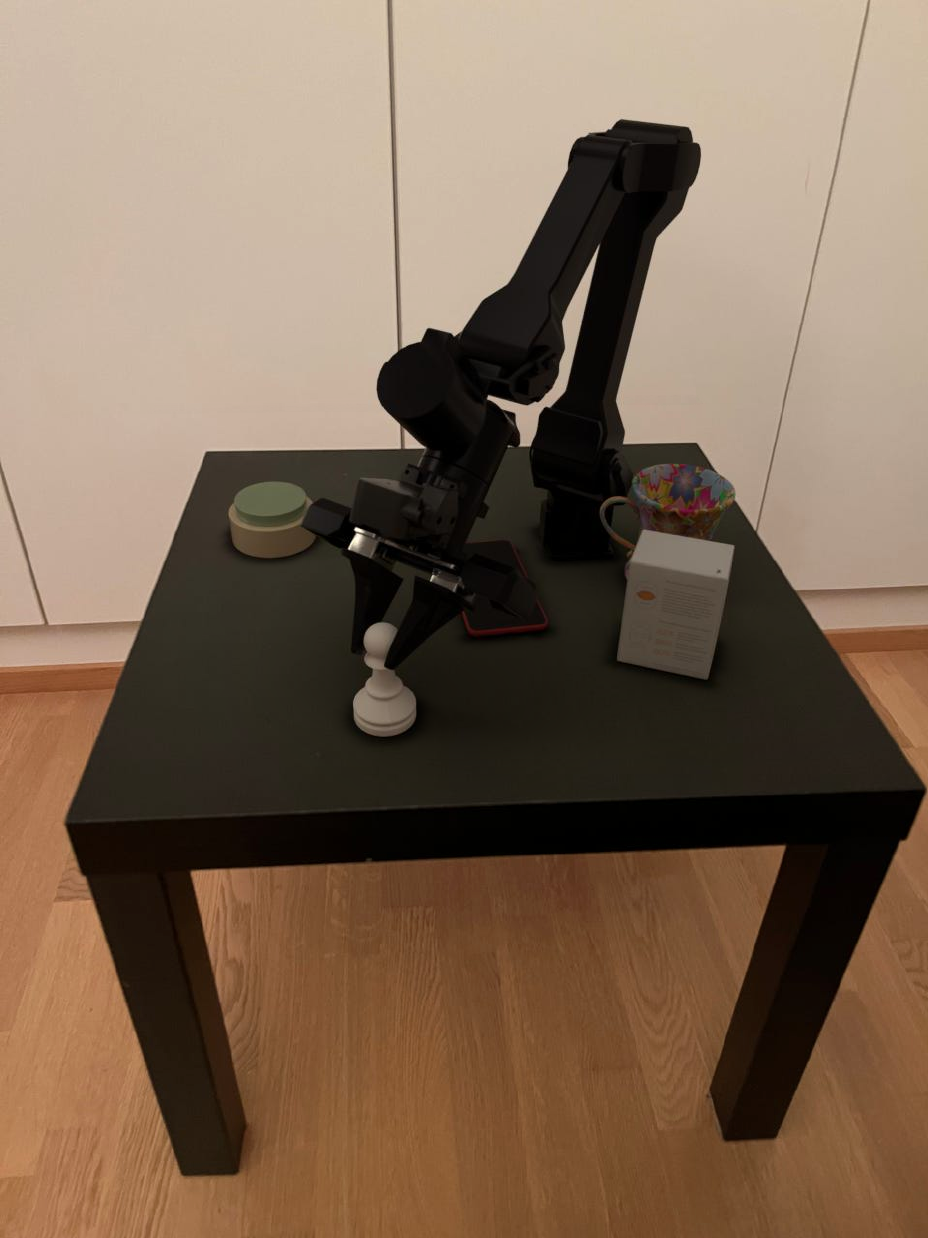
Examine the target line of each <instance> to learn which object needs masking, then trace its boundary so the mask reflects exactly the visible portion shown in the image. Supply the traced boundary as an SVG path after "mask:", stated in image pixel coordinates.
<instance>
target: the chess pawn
mask: <svg viewBox="0 0 928 1238" xmlns="http://www.w3.org/2000/svg"><path fill="white" fill-rule="evenodd" d="M397 631H398V628H397V627H396V626H395V625H393V624H392V623H388V622H384V621H381V622H380V623H376V624H373V625H372V626H370V627H369V628H368V630H367V631H366V633H365V636H364V646H365V651H366V653H365V654H364V657H363V658H364V659H363V661H364V663H365V665H366V666H367V667H369V668H370V669H372V673H371V677H369V678H368V679H367V680H366V682H365V685H364V687H362V688H361V689H359V691H357V693H356V694H355V696H354V699H353V701H352V707H353V720H354V722H355V725H356V726H357V727H358V728H359V729H360V731H362V732H364V733H365V734H368V735H371V736H374V737H381V738H383V737H385V738H386V737H394V736H398V735H400V734H402V733H404V732H406V731H407V730H409V729H410V728H411V727H412V726H413V725H414V723H415V721H416V718H417V697H416V696H415V694H414V692H413V691H412V690H411V689H410V688H409V687H407V686H406V685H404V683H403V680H402V679H401V677H399V676H397V675H396V672H395V669H394V670H389V669H387V668H385V667H384V663H385V660H386V657H387V654H388V651H389V648H390V646H391V644H392V642H393V640H394V637H395V635H396V633H397Z"/></svg>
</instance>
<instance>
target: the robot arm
mask: <svg viewBox="0 0 928 1238" xmlns="http://www.w3.org/2000/svg"><path fill="white" fill-rule="evenodd" d="M701 160H702V147H701V145H700V143H698V142H695V141H694V137H693V132H692V130H691V129H690V127H689V126H684V125H676V124H675V125H674V124H667V123H659V122H649V121H641V120H632V119H623V118H620V119H619V120H616V121H615V123H614V124H613V126H612V127H611V128H608V129H607V130H606V131H596V132H595V131H594V132H588V133H587V135H585V136H580V137H578V138H576V140H575V141H574V142H573V143H572V146H571V148H570V151H569V154H568V159H567V170H566V171H565V173H564V175H563V178H562V179H561V182H560V183H559V185H558V187H557V189H556V191H555V192H554V194H553V197H552V199H551V201H550V203H549V205H548V207H547V209H546V210H545V213H544V215H543V216H542V218H541V221H540V222H539V225H538V226H537V227H536V230H535V232H534V234H533V236H532V238H531V240H530V242H529V244H528V246H527V248H526V249H525V252H524V254H523V256H522V258H521V259H520V261H519V263H518V265H517V267H516V268H515V271H514V273H513V275H512V276H511V278H510V279H509V281H508V282H507V284H505V285H504V286H502V287H501V288H499V289H497V290H496V291H494V292H492V293H491V294H489V295H488V296H487V297H485V298H484V299H482V300H481V301H480V303H479V304H478V306H477V307H476V309H475V310H474V312H473V313H472V314H471V316H470V318H469V319H468V320H467V322H466V324H465V325H464V327H463V328H462V329H461V331H459V332H458V333H457V334H456V335H454V334H453V332H448V331H444V330H440V329H436V328H433V327H427V328H426V329H425V332H424V334H423V336H422V338H421V341H416V342H414V343H410V344H408V345H406V346H404V347H402V348H399V350H397V351H396V352H395V353H394V354H393V355H392V356H391V357H390V358H389V359H388V360H387V361H385V362H384V363H383V364H382V365H381V367H380V370H379V371H378V372H379V373H378V376H377V378H376V389H375V390H376V395H377V399H378V401H379V404H380V405H381V407H382V408H383V409H384V410H385V412H386V413H387V414H388V415H389V416H391V418H392V419H393V420H395V421H396V422H397V423H398V424H399V425H400V426H401V427H402V428H403V429H404V430H405V431H406V432H407V433H408V434H409V435H410V436H411V437H412V438H414V440H416V442H417V443H419V444H420V445H421V446H423V447H424V450H423V453H422V455H421V457H420V460H419V462H418V464H417V465H414V464H411V463H407V465H406V467H404V468H403V470H402V471H401V474H400V476H399V477H398V479H397V480H393V479H389V478H373V477H358V480H357V484H356V488H355V493H354V497H353V501H352V505H351V507H350V506H347V505H344V504H341V503H339V502H336V501H333V500H330V499H327V498H325V497H321V498H319V499H317V500H316V501H313V503H312V504H311V505H310V506H309V507H308V509H307V511H306V513H305V515H304V518H303V520H302V522H301V524H300V526H301V527H303V528H304V529H306V530H308V531H309V532H311V533H313V534H314V535H316V537H318V538H319V539H320V540H323V541H324V542H326V543H328V544H329V545H330V546H333V547H335V548H337V549H339V550H340V554H341V556H343V557H344V558H346V559H347V560H349V564H350V566H351V570H352V573H353V577H354V608H353V609H354V610H353V620H352V632H351V643H350V652H351V653H352V654H354V655H355V656H359V657H360V656H362V655H363V654H364V652H365V651H366V649H365V646H364V636H365V633H366V631H367V630H368V628H369V627H370V626H372V625H373V624H376V623H380V622H383V620H384V618H385V616H386V614H387V612H388V610H389V609H390V606H391V604H392V603H393V601H394V599H395V598H396V595H397V593H398V592H399V589H400V587H401V586H402V584H403V582H404V578H403V577H401V576H399V575H398V574H396V573H395V572H393V569H394V567H395V565H396V563H400V564H403V565H405V566H408V567H411V568H413V569H416V570H419V571H421V572H423V573H426V574H429V575H430V578H429V579H426V578H423V577H421V576H418V575H414V578H413V590H412V599H411V602H410V604H409V606H408V608H407V611H406V612H405V615H404V616H403V619H402V621H401V623H400V625H399V627H398V628H397V630H398V631H397V633H396V635H395V637H394V640H393V642H392V644H391V646H390V648H389V651H388V654H387V657H386V660H385V663H384V667H385V668H387V669H389V670H394V671H395V670H396V669H397V668H398V667H399V666H400V665H401V664H402V663H403V662H404V661H405V660H406V659H408V657H409V656H410V655H412V654H413V653H414V652H415V651H416V650H417V649H418V648H419V647H421V645H423V644H424V643H425V642H426V641H427V640H428V639H429V638H431V636H433V635H434V634H435V633H436V632H438V631H439V630H441V628H443V627H444V626H445V625H446V624H448V623H450V621H452V620H454V619H455V618H456V617H457V616H459V615H460V614H462V612H463V611H469V612H472V613H473V612H474V611H475V609H476V607H475V606H474V605H472V604H473V602H474V600H475V597H476V595H477V594H478V595H481V596H484V597H486V598H489V600H490V602H491V605H492V608H494V609H495V610H498V611H500V612H503V613H505V614H508V615H510V616H513V617H515V618H518V619H521V620H523V621H527V622H528V621H529V619H530V616H531V614H532V612H533V609H534V607H535V605H536V602H537V599H538V590H537V586H536V584H535V583H534V582H533V581H532V580H531V579H530V578H529V577H528V576H527V577H528V578H527V577H526V576H525V575H524V574H522V573H521V572H520V571H519V570H518V569H517V568H515V567H512V566H509V565H507V564H504V563H501V562H498V561H496V560H493V559H490V558H487V557H485V556H482V555H479V554H474V555H473V556H472V557H471V558H469V559H468V560H467V561H466V559H467V557H468V555H467V554H466V553H465V552H463V551H462V549H463V547H464V545H465V543H467V540H468V538H469V536H470V533H471V532H472V530H473V527H474V525H475V523H476V520H477V518H479V519H482V520H485V519H486V516H487V514H488V512H489V510H490V506H489V505H487V503H486V502H485V500H486V498H487V495H488V493H489V491H490V489H491V486H492V483H493V481H494V479H495V477H496V475H497V472H498V470H499V467H501V466H500V465H501V464H502V462H503V459H504V457H505V454H506V452H507V449H508V448H509V447H512V448H514V449H515V448H519V447H520V446H521V432H520V429H519V428H518V425H517V414H516V412H515V411H514V412H513V411H511V410H507V409H503V408H501V407H500V406H499V404H497V403H496V402H494V401H492V400H491V399H488V397H493V398H497V399H499V400H502V401H503V400H504V401H508V402H511V403H514V404H518V405H522V406H526V407H527V406H530V405H532V404H534V403H537V404H539V402H542V400H543V399H544V398H545V396H546V395H547V394H549V393H550V391H551V390H553V388H554V385H555V384H556V381H557V380H558V378H559V375H560V364H561V361H562V359H563V356H564V354H565V351H566V341H565V334H564V333H565V332H564V325H563V321H564V318H565V316H566V313H567V311H568V308H569V306H570V304H571V302H572V301H573V298H574V296H575V294H576V292H577V290H578V289H579V286H580V285H581V282H582V280H583V279H584V276H585V274H586V272H587V270H588V269H589V266H590V264H591V262H592V260H593V258H594V257H595V254H596V258H595V262H594V267H593V271H592V274H591V280H590V284H589V289H588V292H587V297H586V301H585V304H584V305H585V306H584V309H583V314H582V319H581V323H580V327H579V332H578V336H577V340H576V345H575V349H574V352H573V353H574V354H573V357H572V361H571V367H570V370H569V374H568V379H567V382H566V387H565V390H564V392H563V393H562V394H561V395H560V396H559V397H558V398H557V399H556V400H555V402H553V404H552V405H550V406H545V407H543V408H542V410H541V411H540V412H539V415H538V420H537V426H536V431H535V434H534V437H533V438H532V441H531V443H530V447H529V451H528V452H529V453H528V457H529V464H530V465H529V466H530V470H531V476H532V482H533V483H532V484H533V488H536V489H543V490H545V491H546V492H547V493H546V497H545V498H544V497H543V498H542V499H541V501H540V511H539V526H538V534H539V537H540V540H541V543H542V545H543V546H544V547H546V549H547V550H546V551H547V553H548V555H549V558H550V559H551V560H555V561H557V560H560V561H561V560H578V559H579V560H580V559H583V560H584V559H598V558H599V559H604V558H612V557H613V556H614V549H613V547H612V545H611V543H610V541H611V535H610V534H609V533H608V532H607V530H606V529H605V527H604V526H603V524H602V521H601V518H600V508H601V506H602V504H603V503H604V502H605V501H606V500H607V499H609V498H612V497H617V496H621V497H626V498H628V495H629V493H630V489H631V488H632V481H633V479H634V476H635V475H634V474H635V472H634V470H633V469H632V467H631V465H630V464H629V461H628V460H627V459H626V457H625V455H624V453H623V452H622V451H623V446H624V441H625V436H626V429H625V426H624V423H623V420H622V417H621V413H620V410H619V407H618V404H617V398H618V395H619V394H618V393H619V390H620V386H621V381H622V377H623V373H624V369H625V365H626V361H627V357H628V352H629V350H630V346H631V341H632V337H633V333H634V329H635V325H636V321H637V317H638V313H639V309H640V305H641V301H642V298H643V293H644V289H645V286H646V281H647V277H648V274H649V269H650V266H651V262H652V257H653V253H654V250H655V245H656V242H657V239H658V237H659V236H661V234H663V232H664V231H665V230H666V229H667V228H668V227H669V225H670V224H671V223H672V222H673V221H674V220H675V219H676V218H677V217H678V216H679V214H680V213H682V210H683V209H684V206H685V203H686V200H687V196H688V193H689V190H690V188H691V187H692V186H693V185H694V184H695V181H696V179H697V176H698V174H699V170H700V166H701ZM596 252H597V253H596ZM625 505H627V504H626V503H623V502H615V503H612V504H610V505H609V506H607V508H606V509H605V512H604V516H605V519H606V522H607V524H608V525H609V527H610V528H611V529H612V525H613V524H612V523H613V515H614V510H615V507H617V506H619V507H620V506H625Z"/></svg>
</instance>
